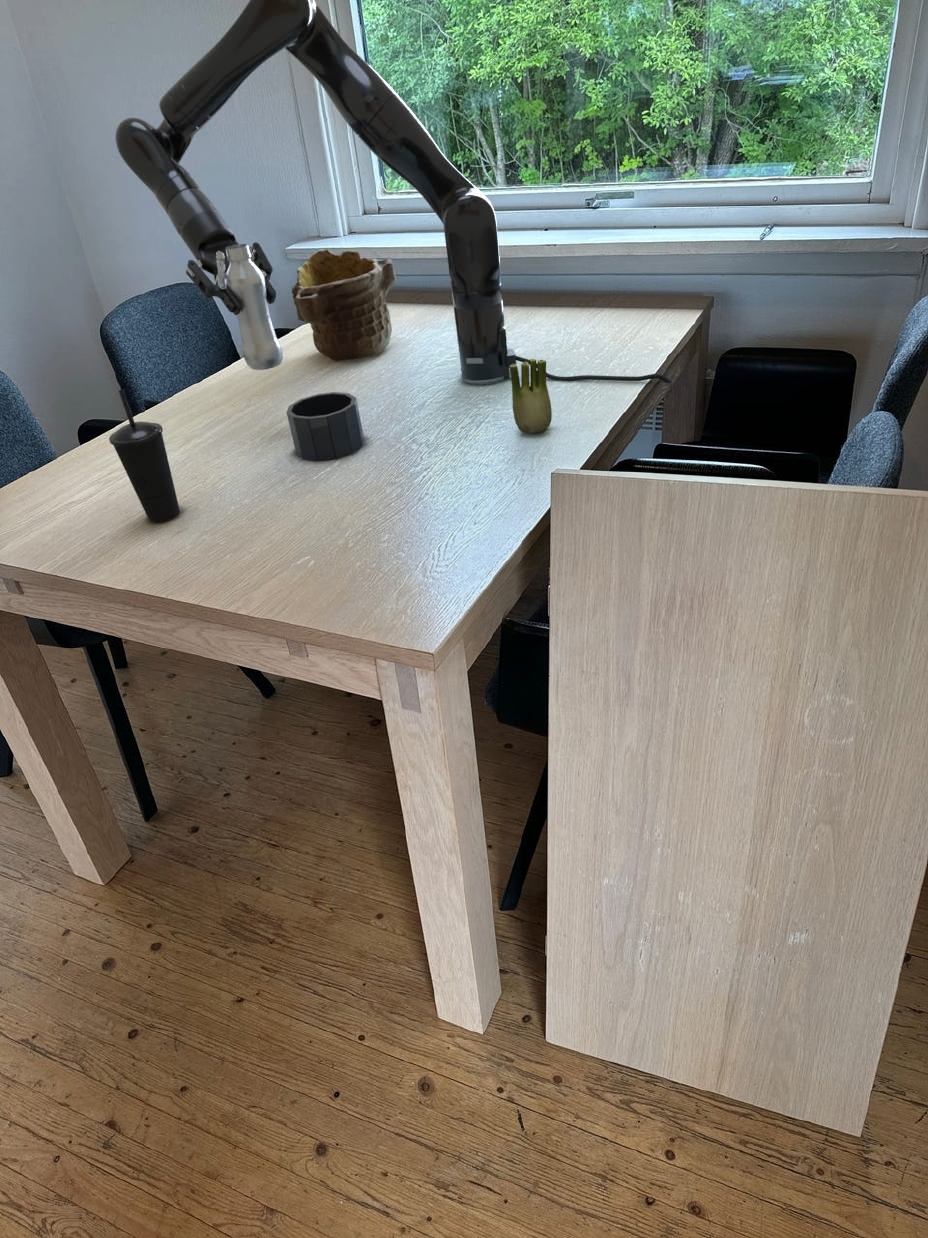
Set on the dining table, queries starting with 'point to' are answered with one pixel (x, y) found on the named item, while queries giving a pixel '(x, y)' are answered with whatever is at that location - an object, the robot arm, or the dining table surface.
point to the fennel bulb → (531, 397)
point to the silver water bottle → (252, 310)
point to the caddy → (325, 426)
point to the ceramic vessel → (345, 303)
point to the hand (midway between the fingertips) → (256, 305)
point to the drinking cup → (147, 466)
